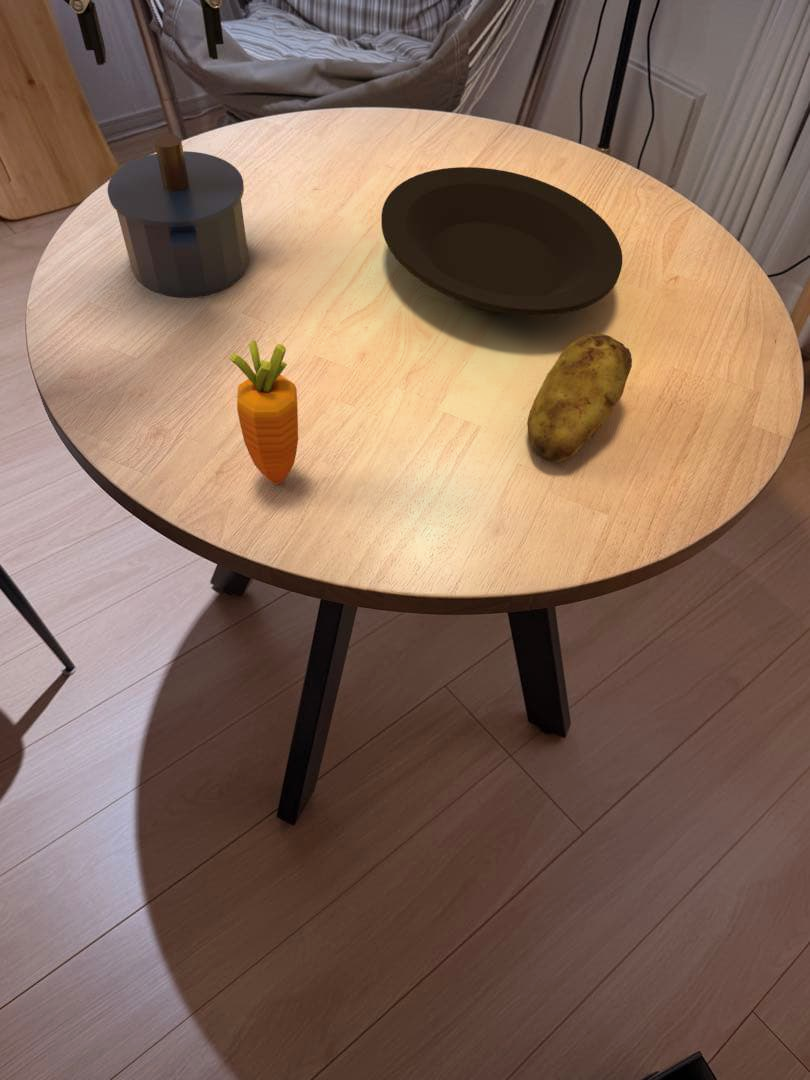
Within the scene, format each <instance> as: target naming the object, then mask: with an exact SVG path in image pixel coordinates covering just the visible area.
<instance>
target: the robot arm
mask: <svg viewBox="0 0 810 1080" xmlns="http://www.w3.org/2000/svg"><path fill="white" fill-rule="evenodd" d="M63 1H64V2H65V3H66V4H68V5H69V7H70V10H72V11H73V12H74V13H76V17H77V20H78V25H79V27H80V32H81V36H82V40H83V44H84V48H85V50H86V51H93V54H94V58H95V61H96V62H95V63H96V65H97V66H104V64H106V62H107V61H106V60H107V59H106V58H107V56H106V46H105V45H106V44H105V41H104V38H103V37H104V36H103V33H102V29H101V25H100V21H99V16H98V12H97V7H96V3H95V2H94V1H92V0H63ZM200 3H201V11H202V18H203V25H204V32H205V41H206V45H207V51H208V57H209V59H211V60H218V59H219V55H218V49H217V45H224V37H223V36H224V35H223V27H222V19H221V18H222V17H221V11H220V10H221V9H220V7H221V6H222V4H223V0H200Z"/></svg>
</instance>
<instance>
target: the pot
mask: <svg viewBox="0 0 810 1080" xmlns="http://www.w3.org/2000/svg"><path fill="white" fill-rule="evenodd" d="M242 203H243V202H242V199H241V200H240V201H239V203H238V204H237V205H236V206H235V207H234V208H233V209H232V210H231V211H229V212H228V213H226V214H225V215H223V216H221V217H219V218H217V219H214V220H211V221H209V222H205V223H202V224H197V225H192V226H185V227H158V226H151V225H145V224H142V223H138V222H135V221H133V220H130V219H128V218H126V217H124V216H123V215H121V214H120V213H119V212H118V211H117V210H116V212H117V218H118V222H119V225H120V230H121V233H122V237H123V242H124V245H125V248H126V252H127V256H128V260H129V263H130V268H131V270H132V272H133V274H134V277H135V278H136V280H137V281H138V282H139V283H140V284H141V285H142V286H143V287H145V288H146V289H149V290H150V291H152V292H155V293H157V294H161V295H163V296H168V297H174V298H175V297H176V298H197V297H203V296H204V297H205V296H208V295H213V294H215V293H219V292H221V291H223V290H225V289H227V288H230V287H231V286H233V285H235V284H236V283H237V282H238V281H239V280H240V279H241V278H242V277H243V275H244V274H245V272H246V271H247V269H248V265H249V253H248V245H247V244H248V243H247V236H246V229H245V222H244V220H245V219H244V212H243V204H242Z"/></svg>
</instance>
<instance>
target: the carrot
mask: <svg viewBox="0 0 810 1080" xmlns="http://www.w3.org/2000/svg"><path fill="white" fill-rule="evenodd" d="M248 348H249V352H250V356H251V360H252V361H251V362H252V365H253V369H254V371H255V372H254V371H253V369H252V368H251V366H250V365H249V364H248V362H247V361H246V360H244V359H243V358H242V356H240V355H238V354H237V353H235V352H233V353H231V355H230V357H229V360H230V361H231V362H232V363H233V364H234V365H236V366H237V367H238V369H240V371H241V372H242V373H243V374H244V375H245V376H246V377H247V379H245V380H244V381H243V382H241V383H239V384H238V385H237V395H236V396H237V397H236V411H237V416H238V421H239V425H240V429H241V430H240V431H241V433H242V437H243V438H242V439H243V443H244V445H245V447H246V449H247V452H248V454H249V456H250V459H251V460H252V462H253V465H254V466H255V467H256V469H257V470H258V471H259V472H260V474H261V475H262V476H263V477H265V479H267V480H268V481H269V482H270V483H272V484H273V485H280V484H282V483H283V482H284V481H285V480H286V478H287V477H288V476H289V474H290V473H291V471H292V469H293V467H294V465H295V461H296V457H297V451H298V445H299V415H298V414H299V413H298V409H299V408H298V390H297V386H296V384H295V382H293V381H291V380H290V379H288V378H287V377H284V376H283V375H281V374H282V373H283V371H284V370H285V369H286V367H287V366H288V363H287V362H285V361H283V360H284V358H285V354H286V351H287V348H286V347H285V346H284V345H283V344H281V343H277V344H276V345H275V347H274V350H273V352H272V355H271V357H270V361H267V360H261V358H260V351H259V347H258V343H257V341H256V340H252V341H250V342H249V344H248Z"/></svg>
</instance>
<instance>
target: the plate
mask: <svg viewBox="0 0 810 1080" xmlns="http://www.w3.org/2000/svg"><path fill="white" fill-rule="evenodd" d="M380 217H381V219H380V220H381V223H380V224H381V231H382V236H383V239H384V241H385V243H386V245H387V247H388V250H389V251H390V252H391V254H392V255H393V257H394V258H395V259H396V261H398V262H399V264H400V265H402V267H403V268H405V270H406V271H408V272H409V273H410V274H411V275H412V276H413V277H415V278H416V279H418V280H419V281H421V282H422V283H423V284H425V285H427V286H429V287H430V288H432V289H433V290H435V291H437V292H439V293H441V294H443V295H445V296H447V297H450V298H452V299H454V300H456V301H459V302H462V303H464V304H466V305H467V304H468V305H471V306H474V307H477V308H479V309H484V310H489V311H492V312H497V313H503V314H509V315H517V316H530V317H531V316H533V317H534V316H553V315H554V316H555V315H556V316H557V315H561V314H562V315H563V314H567V313H572V312H575V311H579V310H580V311H581V310H582V309H585V308H588V307H591V306H592V305H595V304H596V303H598V302H599V301H600V300H603V299H604V298H605V297H606V296H608V295H609V294H610V293H611V291H612V290H613V289H614V287H615V286H616V284H617V283H618V281H619V278H620V274H621V272H622V267H623V252H622V248H621V244H620V242H619V240H618V238H617V235H616V233H614V231H613V229H612V228H611V227H610V225H609V224H608V223H607V222H606V221H605V219H603V217H601V216H600V215H599V214H598V213H597V212H596V211H595V210H594V209H593V208H592V207H590V206H588V205H587V204H586V203H584V202H583V201H582V200H580V199H579V198H577V197H575V196H574V195H572V194H571V193H569V192H567V191H564V190H563V189H561V188H559V187H557V186H554V185H552V184H550V183H547V182H545V181H542V180H540V179H537V178H535V177H530V176H527V175H524V174H520V173H517V172H512V171H507V170H503V169H495V168H487V167H473V166H460V167H459V166H458V167H457V166H455V167H446V168H439V169H433V170H430V171H425V172H422V173H419V174H416V175H414V176H412V177H409V178H408V179H406V180H404V181H403V182H401V183H400V184H398V185H396V186H395V188H394V189H393V190H391V192H390V193H389V194H388V196H387V197H386V199H385V201H384V203H383V206H382V209H381V216H380Z"/></svg>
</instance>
